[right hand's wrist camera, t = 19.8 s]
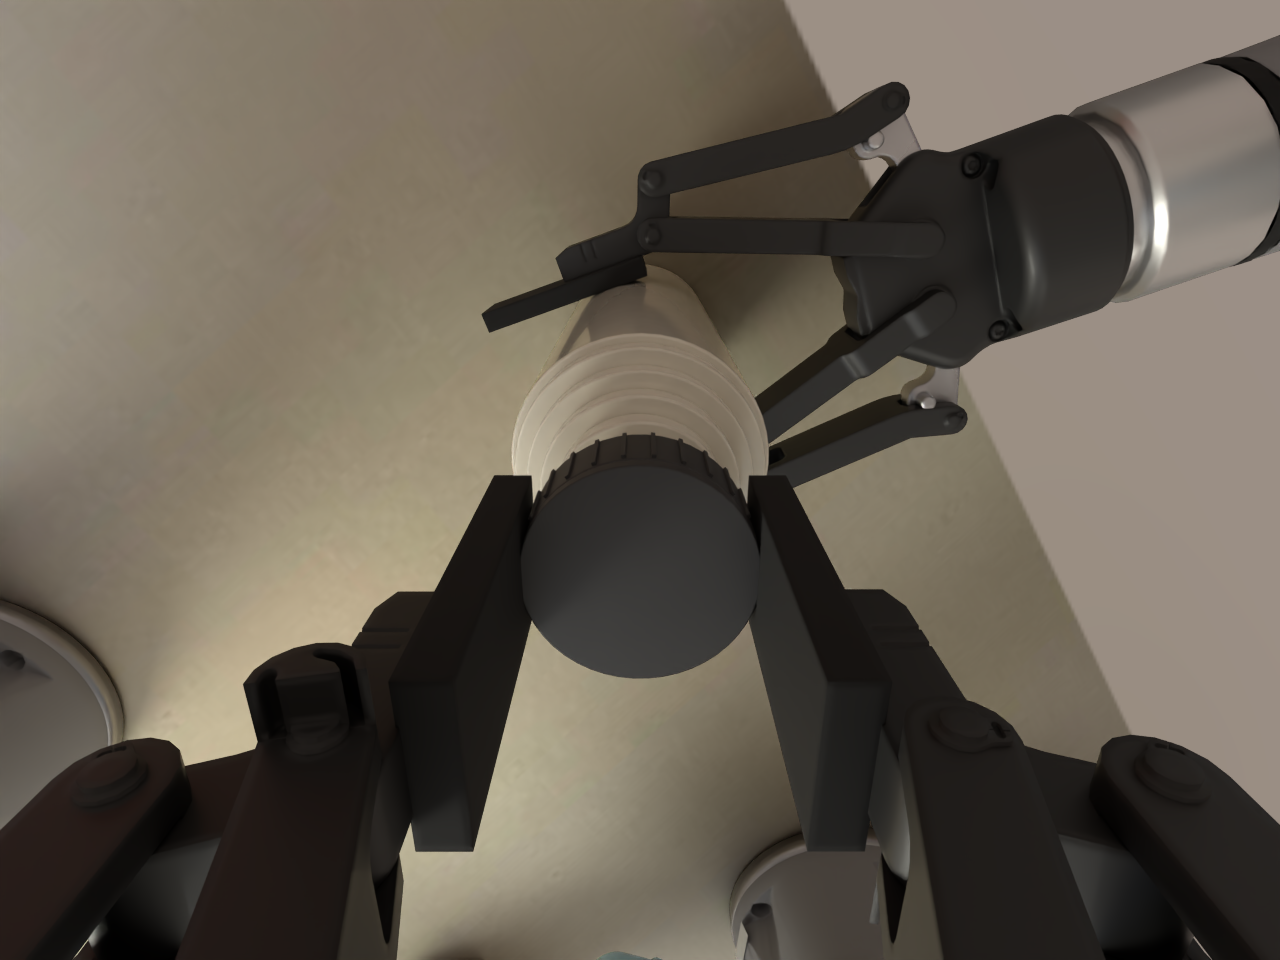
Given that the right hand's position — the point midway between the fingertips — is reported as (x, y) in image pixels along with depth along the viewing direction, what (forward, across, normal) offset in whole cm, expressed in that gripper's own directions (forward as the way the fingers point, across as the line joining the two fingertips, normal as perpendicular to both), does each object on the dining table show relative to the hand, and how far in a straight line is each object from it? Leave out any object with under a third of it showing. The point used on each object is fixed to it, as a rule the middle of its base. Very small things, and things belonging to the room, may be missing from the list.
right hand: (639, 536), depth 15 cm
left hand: (+16, -5, -2) cm, 17 cm away
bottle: (+23, 0, 0) cm, 23 cm away
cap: (-2, 0, 0) cm, 2 cm away
